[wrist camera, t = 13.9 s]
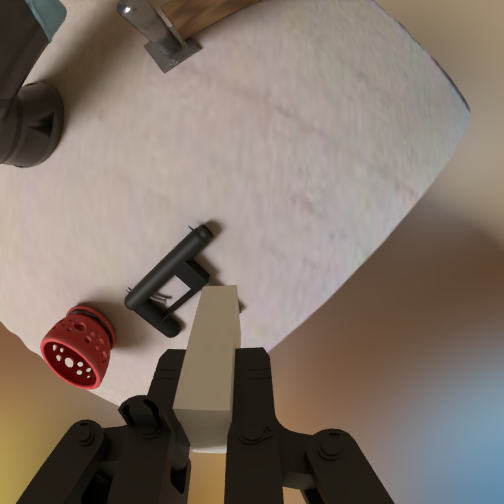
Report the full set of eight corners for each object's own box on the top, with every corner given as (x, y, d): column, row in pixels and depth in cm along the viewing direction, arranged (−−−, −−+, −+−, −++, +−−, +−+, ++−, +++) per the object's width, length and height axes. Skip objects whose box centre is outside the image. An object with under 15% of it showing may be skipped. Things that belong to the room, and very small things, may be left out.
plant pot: (57, 310, 47) (28, 344, 36) (95, 291, 45) (64, 330, 34) (92, 356, 51) (71, 394, 40) (133, 344, 50) (114, 388, 39)
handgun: (269, 294, 43) (193, 221, 37) (184, 355, 48) (114, 301, 42) (267, 283, 46) (196, 214, 40) (186, 343, 51) (120, 290, 45)
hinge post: (164, 73, 32) (117, 40, 17) (145, 47, 30) (94, 8, 15) (200, 49, 31) (172, 1, 16) (179, 23, 29) (144, -28, 14)
